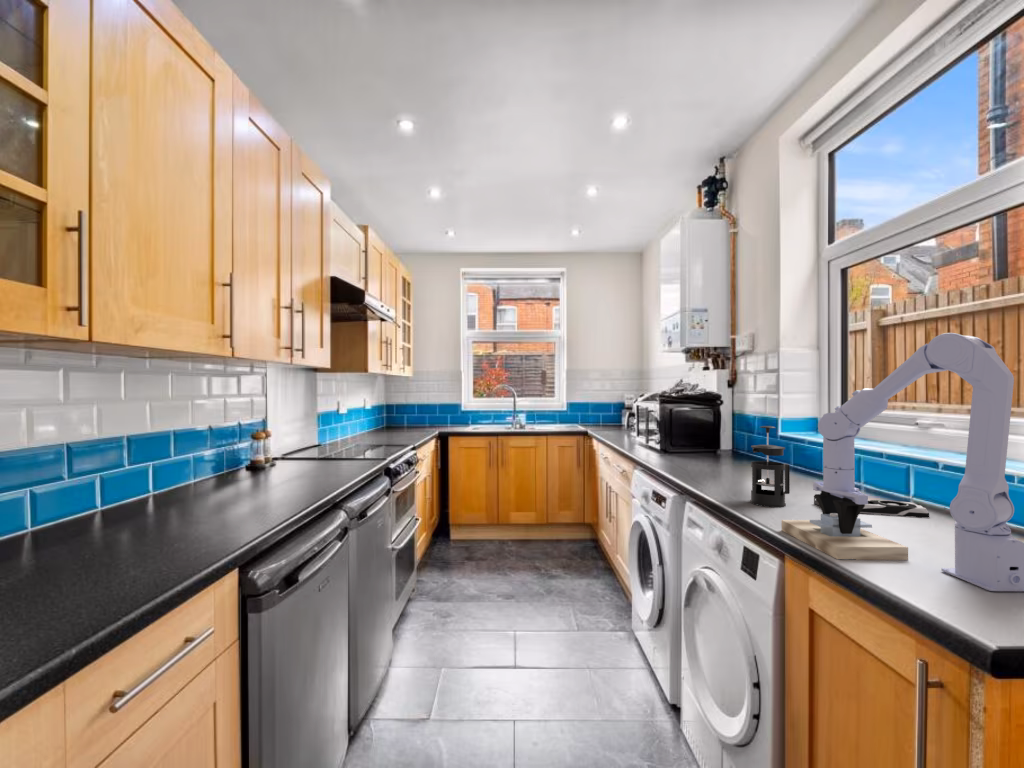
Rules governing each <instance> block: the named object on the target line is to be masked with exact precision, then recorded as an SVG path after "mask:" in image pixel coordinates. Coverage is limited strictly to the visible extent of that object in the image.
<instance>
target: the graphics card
mask: <svg viewBox="0 0 1024 768" xmlns="http://www.w3.org/2000/svg"><path fill="white" fill-rule="evenodd" d="M813 505H817V506H819V507H820V505H819V503H818V502H817V500H816V498H815V495H813ZM861 514H863V515H874V514H881V515H880V516H890V515H901V516H900V517H906V516H916V517H915V518H922V517H929V518H930V513H929V511H928V510H927V508H926V507H923V506H922V505H920V504H919V505H918V504H917V503H914V502H909V501H897V500H888V499H887V500H885V499H884V500H880V499H879V500H877V499H876V500H875V499H868V504H865V507H864V508H863V509H862V510H861V512H860V513H859V515H861Z"/></svg>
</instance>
